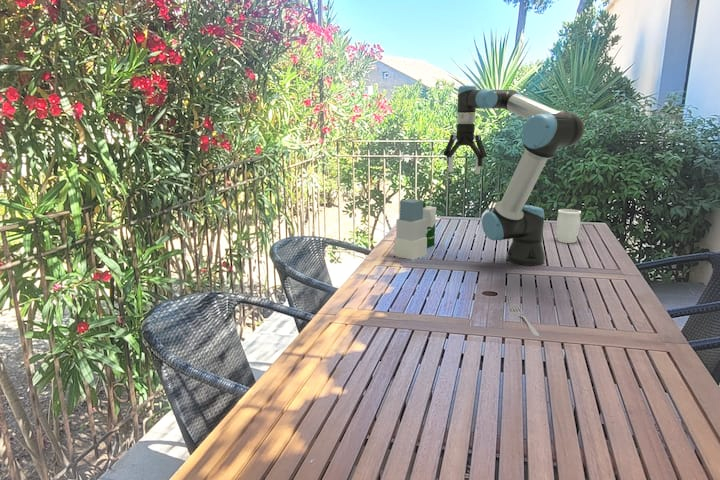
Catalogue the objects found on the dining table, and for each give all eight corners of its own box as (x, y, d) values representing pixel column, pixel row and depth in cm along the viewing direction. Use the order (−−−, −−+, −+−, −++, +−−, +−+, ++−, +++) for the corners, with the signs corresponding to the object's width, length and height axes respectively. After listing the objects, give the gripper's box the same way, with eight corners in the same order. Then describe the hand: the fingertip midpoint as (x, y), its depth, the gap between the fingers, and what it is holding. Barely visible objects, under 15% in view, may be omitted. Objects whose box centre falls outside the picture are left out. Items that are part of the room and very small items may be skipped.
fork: (535, 341, 139) (536, 335, 139) (508, 308, 163) (508, 303, 162) (547, 341, 139) (548, 335, 139) (518, 308, 163) (518, 303, 162)
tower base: (426, 255, 222) (427, 237, 220) (412, 259, 215) (412, 241, 213) (408, 251, 229) (409, 233, 227) (394, 255, 222) (394, 237, 220)
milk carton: (420, 242, 245) (421, 200, 240) (437, 244, 240) (438, 202, 235) (411, 245, 238) (412, 203, 233) (428, 248, 233) (429, 205, 228)
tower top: (425, 237, 220) (426, 219, 218) (412, 241, 214) (413, 222, 212) (409, 234, 226) (409, 216, 224) (396, 237, 220) (396, 219, 218)
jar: (581, 244, 240) (585, 212, 236) (559, 244, 240) (562, 212, 237) (573, 238, 250) (576, 208, 247) (551, 238, 251) (554, 208, 247)
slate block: (422, 219, 219) (423, 200, 217) (412, 221, 214) (413, 202, 212) (409, 217, 223) (410, 198, 221) (399, 219, 218) (400, 200, 216)
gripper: (436, 123, 225) (435, 171, 230) (487, 123, 208) (485, 175, 213) (446, 122, 230) (444, 170, 235) (496, 123, 214) (493, 174, 219)
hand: (463, 172), depth 224 cm, fingers open, 13 cm apart
